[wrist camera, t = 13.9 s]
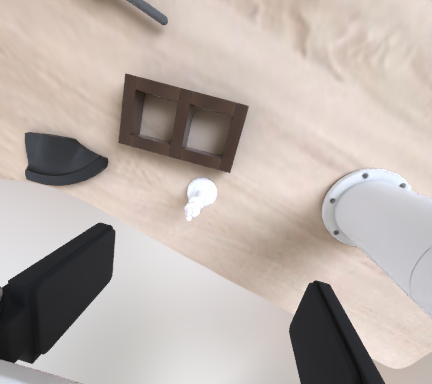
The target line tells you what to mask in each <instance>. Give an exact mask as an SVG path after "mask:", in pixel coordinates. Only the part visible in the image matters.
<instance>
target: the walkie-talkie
mask: <svg viewBox="0 0 432 384" xmlns="http://www.w3.org/2000/svg"><path fill="white" fill-rule="evenodd" d="M127 1H129V2H130V3H131V4H133V5H134V6H136V7H137V8H139V9H140V10H142V11H143V12H145V13H146V14H147V15H149V16H150V17H152V18H153V19H155V20H156V21H158V22H159V23H161V24H162V25H166V24H167V23H168V19H167V17H166V16H165V15H163V14H162V13H161V12H159V11H158V10H156V9H155V8H153V7H152V6H150V5H149V4H148V3H146V2H145V1H143V0H127Z"/></svg>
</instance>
